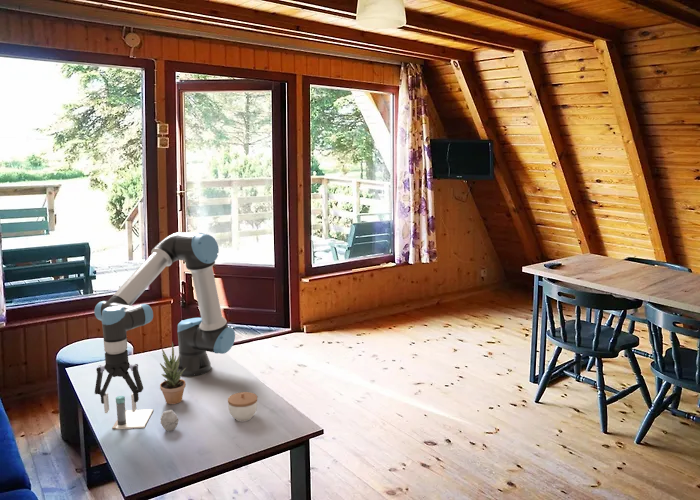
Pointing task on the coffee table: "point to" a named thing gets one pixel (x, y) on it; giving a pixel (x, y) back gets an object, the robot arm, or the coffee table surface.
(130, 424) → the notepad
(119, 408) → the marker
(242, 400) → the lidded jar
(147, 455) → the coffee table surface
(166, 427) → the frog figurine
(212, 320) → the robot arm
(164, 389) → the potted plant
